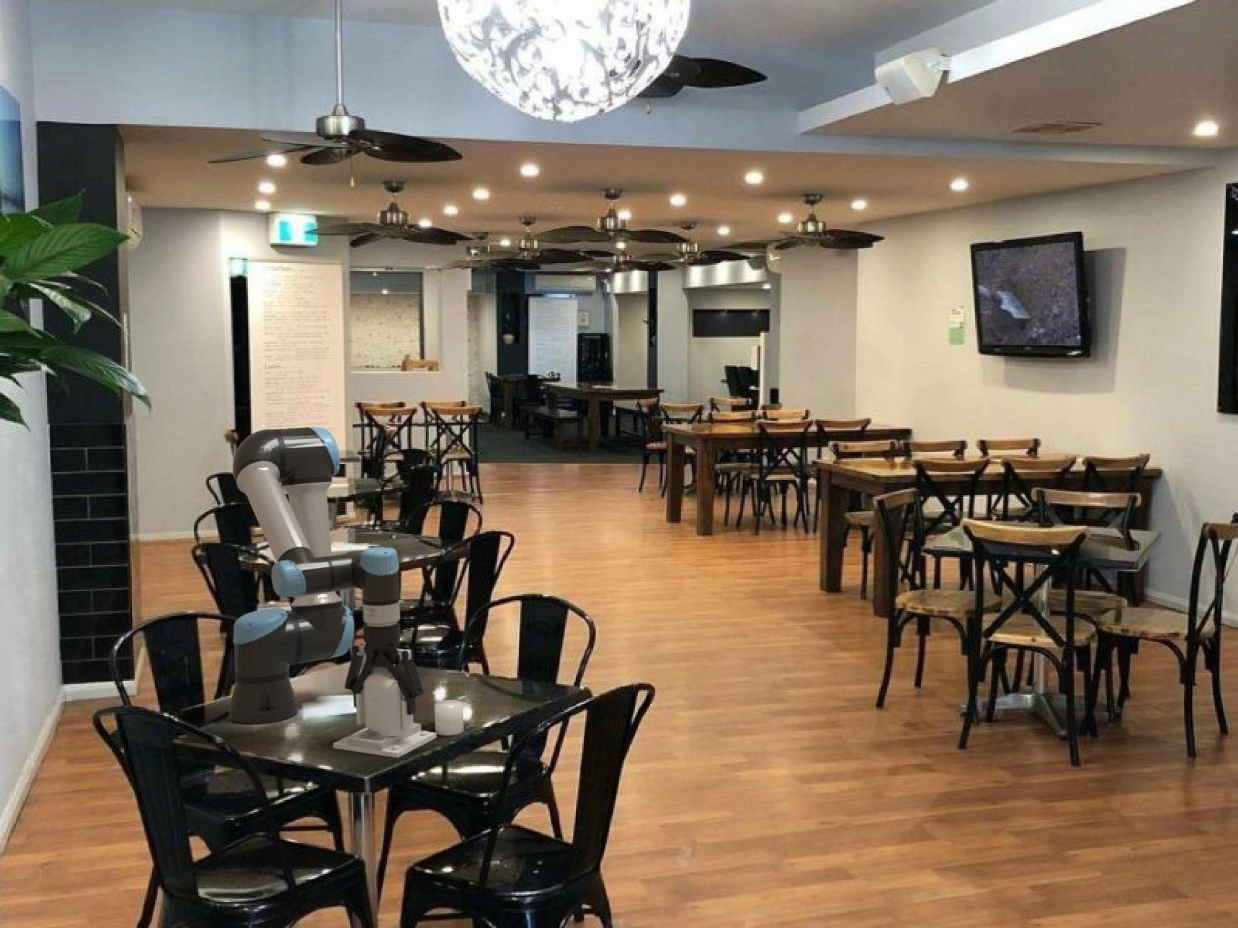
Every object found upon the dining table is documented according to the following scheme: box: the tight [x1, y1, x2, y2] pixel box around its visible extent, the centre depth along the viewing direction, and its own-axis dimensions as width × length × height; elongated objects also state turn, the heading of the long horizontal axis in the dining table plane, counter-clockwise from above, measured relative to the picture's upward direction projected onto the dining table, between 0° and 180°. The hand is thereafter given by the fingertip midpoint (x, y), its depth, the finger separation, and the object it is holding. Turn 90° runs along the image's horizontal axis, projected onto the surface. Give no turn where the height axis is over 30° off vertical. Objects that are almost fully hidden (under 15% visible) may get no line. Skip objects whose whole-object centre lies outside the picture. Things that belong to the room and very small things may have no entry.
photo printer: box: [363, 671, 405, 736], centre depth 249 cm, size 10×4×12 cm, turn 47°
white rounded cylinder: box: [434, 699, 464, 736], centre depth 257 cm, size 6×6×6 cm
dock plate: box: [332, 722, 437, 758], centre depth 249 cm, size 16×14×2 cm
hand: (385, 725), depth 249 cm, fingers open, 11 cm apart
